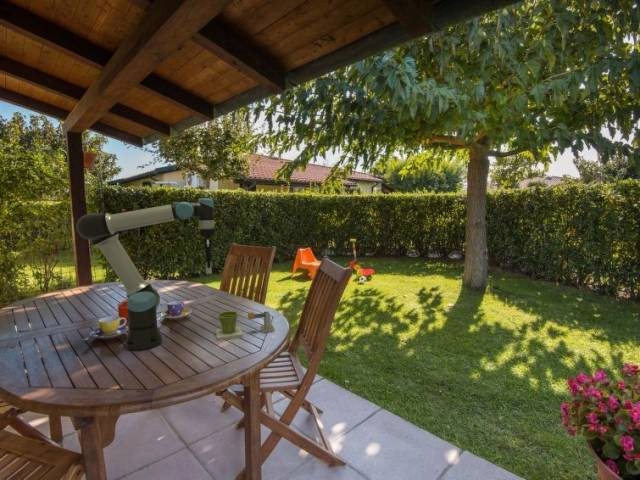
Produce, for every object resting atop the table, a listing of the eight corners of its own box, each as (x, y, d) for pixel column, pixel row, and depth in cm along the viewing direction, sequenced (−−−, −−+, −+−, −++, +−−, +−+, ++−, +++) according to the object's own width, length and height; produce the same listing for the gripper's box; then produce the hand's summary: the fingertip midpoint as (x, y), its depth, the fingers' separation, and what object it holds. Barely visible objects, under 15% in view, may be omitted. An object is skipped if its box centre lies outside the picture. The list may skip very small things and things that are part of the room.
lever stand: (262, 333, 171) (262, 315, 170) (260, 328, 178) (259, 311, 177) (274, 331, 173) (274, 314, 172) (271, 326, 180) (271, 310, 179)
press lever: (248, 320, 170) (248, 315, 170) (247, 317, 174) (247, 313, 174) (269, 317, 173) (269, 313, 173) (268, 315, 177) (268, 310, 177)
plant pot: (233, 335, 165) (232, 317, 164) (215, 334, 167) (214, 316, 166) (241, 328, 174) (241, 311, 173) (224, 327, 176) (223, 310, 175)
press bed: (217, 340, 162) (216, 337, 162) (216, 332, 173) (216, 329, 173) (242, 337, 166) (242, 334, 166) (240, 329, 177) (240, 326, 176)
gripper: (215, 229, 172) (217, 275, 174) (214, 227, 184) (216, 270, 186) (199, 229, 169) (201, 276, 172) (199, 227, 181) (201, 271, 184)
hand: (209, 273), depth 179 cm, fingers closed
